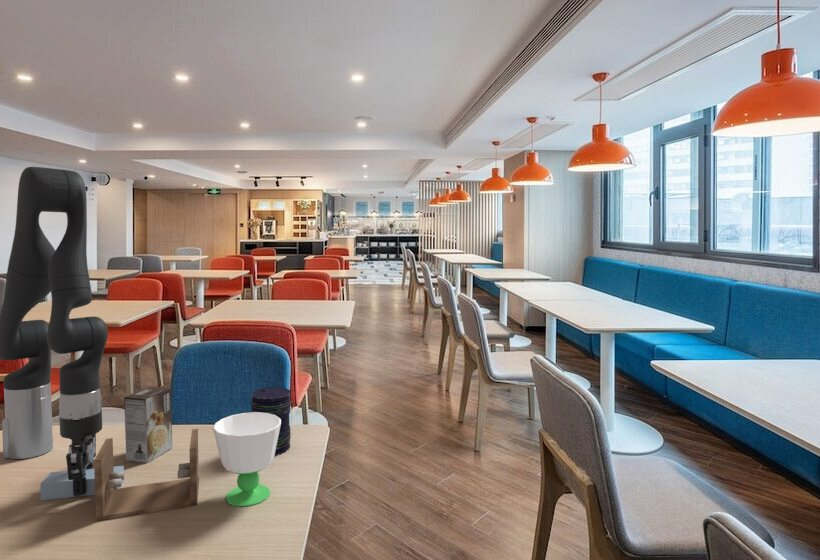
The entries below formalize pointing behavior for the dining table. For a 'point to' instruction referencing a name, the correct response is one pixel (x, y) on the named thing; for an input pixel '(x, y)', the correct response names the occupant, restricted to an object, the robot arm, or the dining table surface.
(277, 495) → the dining table surface
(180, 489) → the peg frame
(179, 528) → the dining table surface
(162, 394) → the coffee box
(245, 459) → the cup
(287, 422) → the dark blue cylinder
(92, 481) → the light blue rectangular block
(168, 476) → the dining table surface
